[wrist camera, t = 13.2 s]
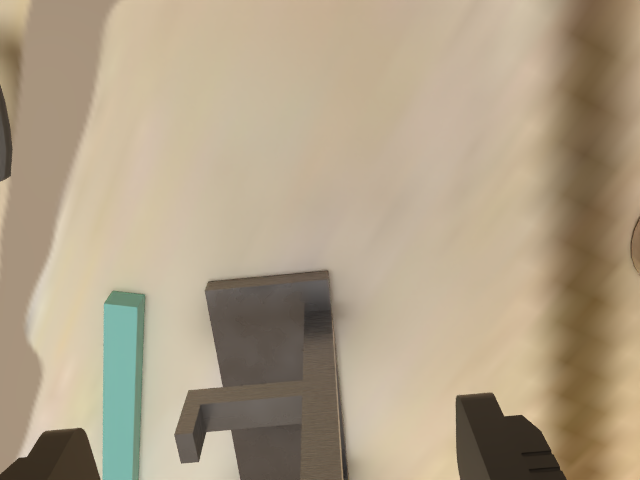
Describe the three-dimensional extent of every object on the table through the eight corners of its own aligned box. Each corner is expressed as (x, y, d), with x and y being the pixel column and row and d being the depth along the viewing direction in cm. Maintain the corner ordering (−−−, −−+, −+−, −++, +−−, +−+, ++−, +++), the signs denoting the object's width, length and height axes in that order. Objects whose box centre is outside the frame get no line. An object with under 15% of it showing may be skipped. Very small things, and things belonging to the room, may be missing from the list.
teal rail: (146, 292, 45) (137, 307, 43) (138, 510, 53) (130, 532, 51) (114, 288, 45) (103, 303, 43) (111, 507, 53) (102, 529, 51)
